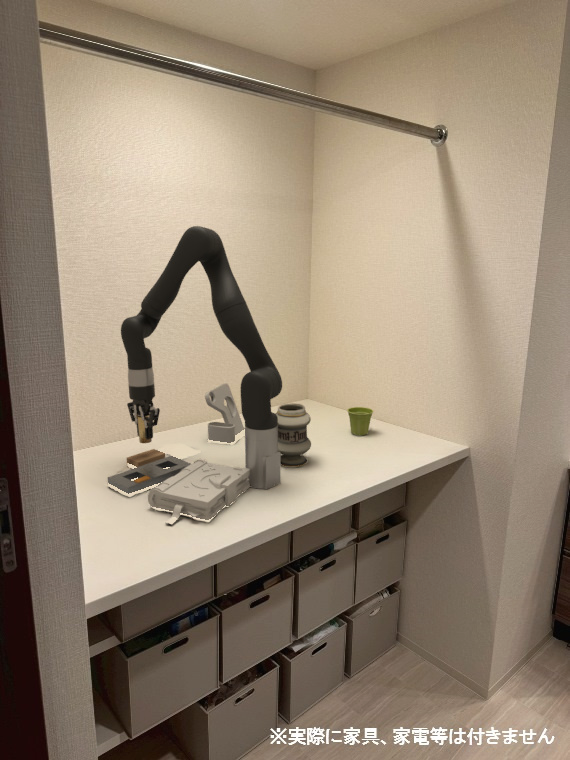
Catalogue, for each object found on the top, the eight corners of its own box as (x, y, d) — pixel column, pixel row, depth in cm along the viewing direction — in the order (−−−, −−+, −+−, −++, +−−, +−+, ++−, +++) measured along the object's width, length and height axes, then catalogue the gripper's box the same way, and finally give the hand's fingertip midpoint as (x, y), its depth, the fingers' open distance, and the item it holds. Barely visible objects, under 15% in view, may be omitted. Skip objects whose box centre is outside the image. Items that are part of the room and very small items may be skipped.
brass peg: (154, 441, 168) (152, 416, 166) (144, 444, 165) (142, 418, 164) (147, 438, 170) (145, 414, 168) (137, 441, 168) (135, 416, 166)
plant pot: (345, 428, 204) (346, 406, 202) (370, 429, 204) (371, 406, 202) (347, 437, 195) (348, 414, 193) (373, 437, 195) (374, 414, 193)
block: (165, 462, 172) (165, 453, 171) (138, 471, 164) (137, 462, 164) (154, 457, 175) (153, 448, 175) (127, 466, 168) (126, 457, 167)
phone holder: (231, 446, 186) (230, 395, 182) (205, 442, 189) (203, 392, 185) (251, 430, 202) (250, 383, 198) (226, 427, 205) (225, 381, 201)
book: (134, 518, 136) (133, 490, 134) (195, 477, 161) (194, 453, 160) (201, 535, 129) (200, 506, 127) (253, 489, 154) (253, 464, 152)
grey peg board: (192, 473, 163) (192, 462, 163) (128, 497, 147) (127, 486, 146) (171, 464, 170) (171, 454, 169) (108, 487, 154) (107, 476, 153)
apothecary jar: (264, 461, 173) (264, 406, 169) (291, 451, 181) (291, 399, 177) (292, 471, 165) (292, 414, 160) (318, 461, 173) (319, 406, 169)
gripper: (166, 383, 162) (169, 438, 166) (138, 377, 171) (142, 429, 175) (144, 388, 156) (148, 445, 160) (117, 381, 165) (121, 435, 169)
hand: (145, 436), depth 167 cm, fingers closed on brass peg, 3 cm apart
